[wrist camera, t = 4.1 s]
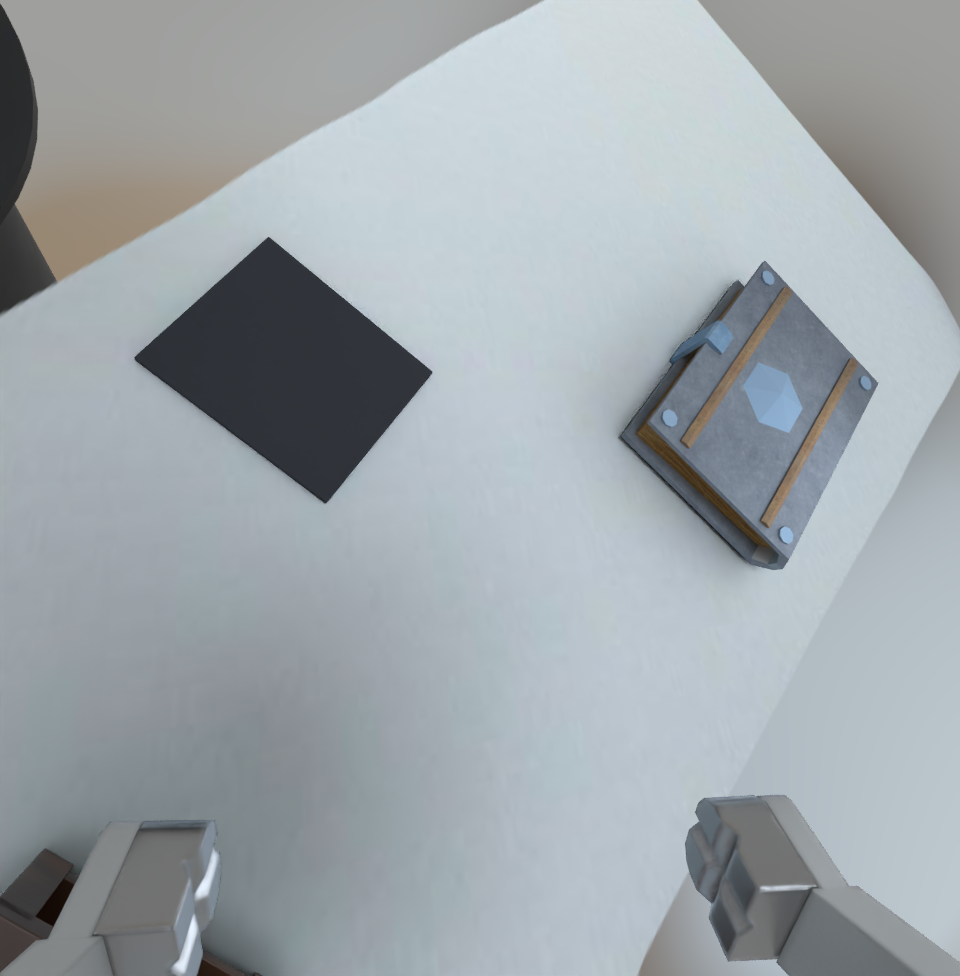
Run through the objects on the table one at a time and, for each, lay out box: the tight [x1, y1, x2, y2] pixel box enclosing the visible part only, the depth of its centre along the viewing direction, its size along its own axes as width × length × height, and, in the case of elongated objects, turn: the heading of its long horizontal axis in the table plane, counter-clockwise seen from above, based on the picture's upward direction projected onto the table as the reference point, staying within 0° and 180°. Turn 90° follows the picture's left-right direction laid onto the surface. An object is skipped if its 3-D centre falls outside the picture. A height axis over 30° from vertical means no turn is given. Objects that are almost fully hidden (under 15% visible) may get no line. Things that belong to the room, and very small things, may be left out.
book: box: [621, 261, 878, 570], centre depth 50 cm, size 21×16×5 cm
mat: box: [134, 237, 432, 503], centre depth 39 cm, size 14×12×1 cm
